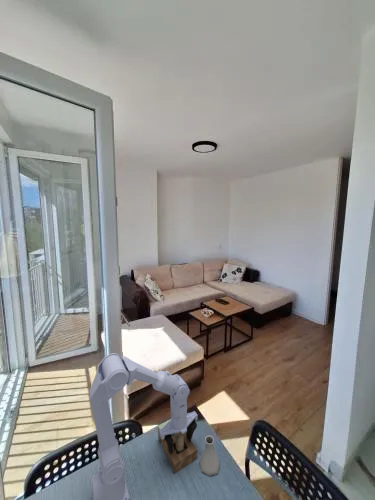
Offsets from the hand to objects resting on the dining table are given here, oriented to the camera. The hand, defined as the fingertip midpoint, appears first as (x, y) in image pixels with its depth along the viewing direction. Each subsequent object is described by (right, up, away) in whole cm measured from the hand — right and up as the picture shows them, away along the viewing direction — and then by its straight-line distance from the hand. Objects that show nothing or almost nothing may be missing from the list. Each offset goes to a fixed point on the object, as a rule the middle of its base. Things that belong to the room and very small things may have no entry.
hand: (179, 444), depth 80 cm
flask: (+10, -4, -3) cm, 12 cm away
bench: (-4, -3, +6) cm, 8 cm away
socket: (0, -4, 0) cm, 4 cm away
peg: (0, -4, +1) cm, 4 cm away
